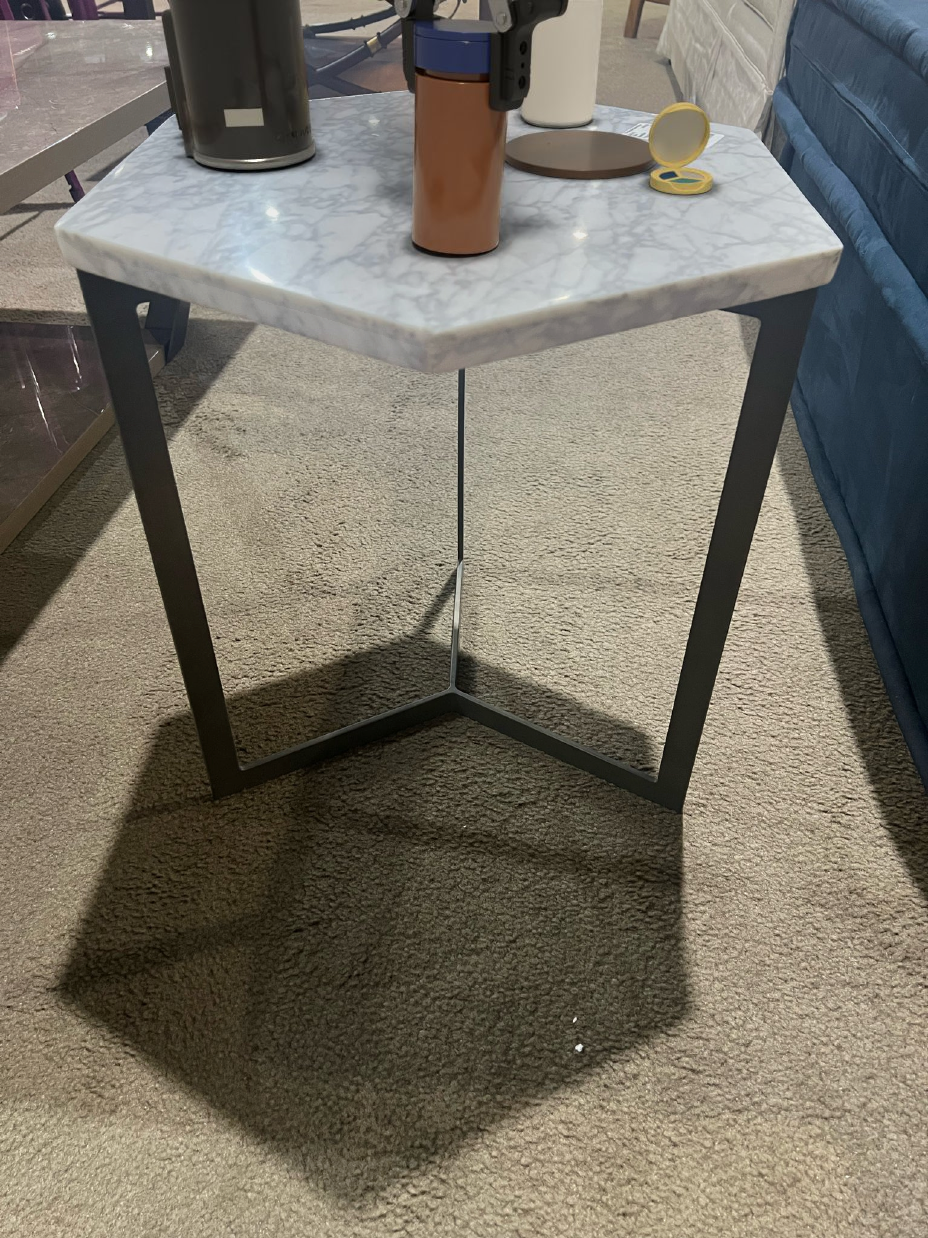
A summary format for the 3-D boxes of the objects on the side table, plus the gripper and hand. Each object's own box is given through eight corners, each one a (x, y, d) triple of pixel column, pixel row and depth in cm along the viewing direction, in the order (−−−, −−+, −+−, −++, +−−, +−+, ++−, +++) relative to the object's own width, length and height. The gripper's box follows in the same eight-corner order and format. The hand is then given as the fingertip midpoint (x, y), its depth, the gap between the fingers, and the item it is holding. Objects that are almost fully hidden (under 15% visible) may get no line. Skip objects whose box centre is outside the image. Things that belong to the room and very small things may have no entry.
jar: (394, 241, 57) (396, 39, 50) (441, 221, 60) (448, 31, 54) (470, 260, 55) (482, 51, 48) (514, 238, 58) (530, 42, 52)
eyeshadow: (657, 194, 65) (667, 116, 62) (641, 174, 69) (650, 100, 66) (718, 193, 65) (731, 115, 62) (699, 173, 69) (711, 99, 66)
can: (508, 123, 81) (513, -45, 73) (538, 108, 85) (546, -52, 78) (576, 131, 79) (589, -41, 71) (604, 115, 83) (619, -49, 75)
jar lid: (518, 76, 50) (521, 34, 48) (411, 71, 49) (411, 30, 48) (513, 59, 54) (515, 20, 53) (415, 55, 54) (415, 17, 53)
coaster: (475, 163, 71) (475, 155, 71) (546, 130, 79) (546, 122, 79) (618, 187, 66) (619, 178, 66) (679, 149, 74) (680, 141, 74)
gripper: (298, -313, 43) (331, 92, 54) (538, -341, 36) (520, 134, 47) (409, -300, 48) (419, 73, 59) (644, -323, 40) (605, 108, 51)
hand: (464, 98), depth 53 cm, fingers closed on jar lid, 5 cm apart
